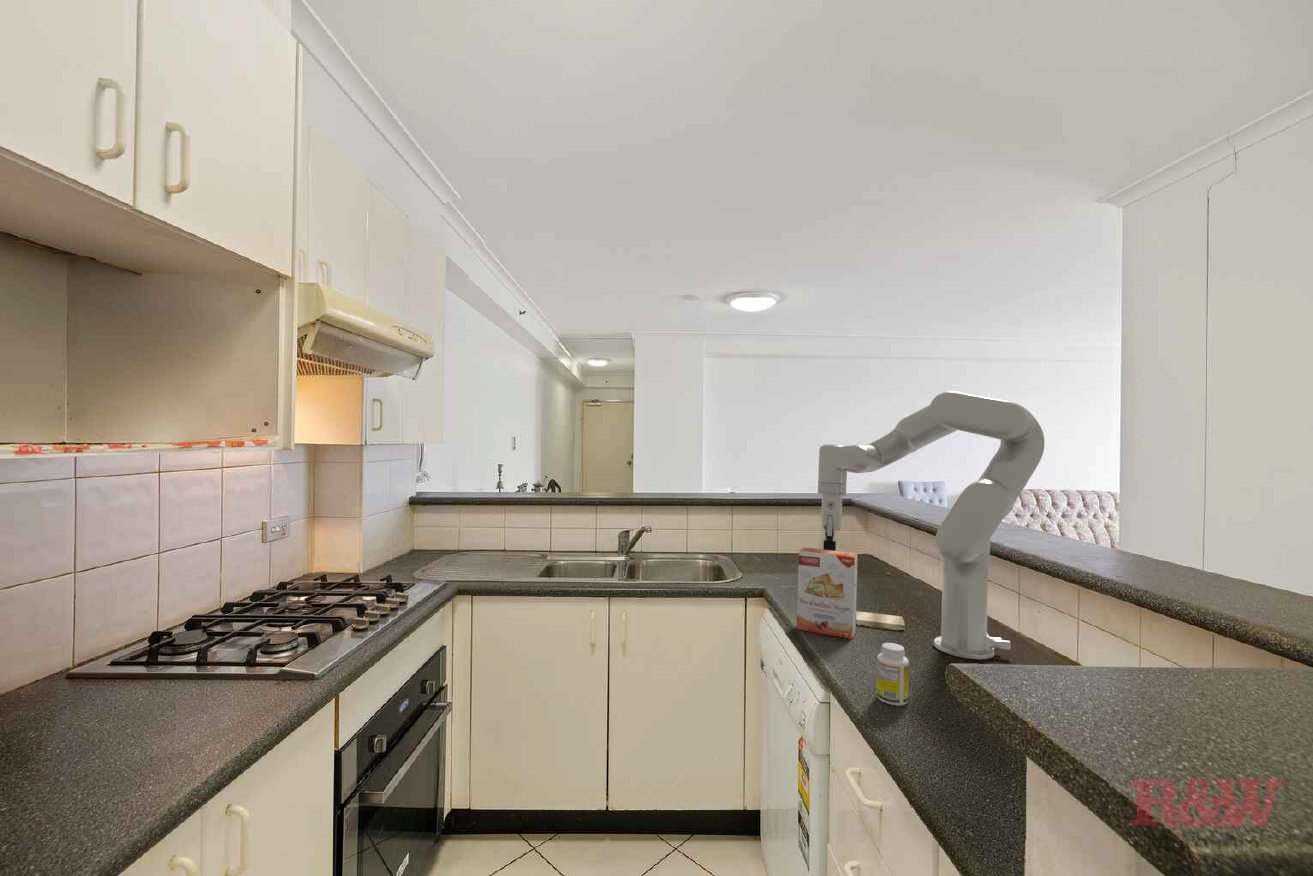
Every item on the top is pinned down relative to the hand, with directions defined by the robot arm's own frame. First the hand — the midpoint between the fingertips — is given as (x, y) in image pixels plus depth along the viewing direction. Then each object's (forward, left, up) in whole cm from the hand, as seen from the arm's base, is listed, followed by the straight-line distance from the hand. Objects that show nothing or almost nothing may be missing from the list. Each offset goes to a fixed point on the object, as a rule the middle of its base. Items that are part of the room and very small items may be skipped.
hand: (829, 554), depth 153 cm
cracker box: (0, +11, -18) cm, 21 cm away
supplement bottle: (-13, +46, -18) cm, 51 cm away
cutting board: (-13, -2, -18) cm, 22 cm away
